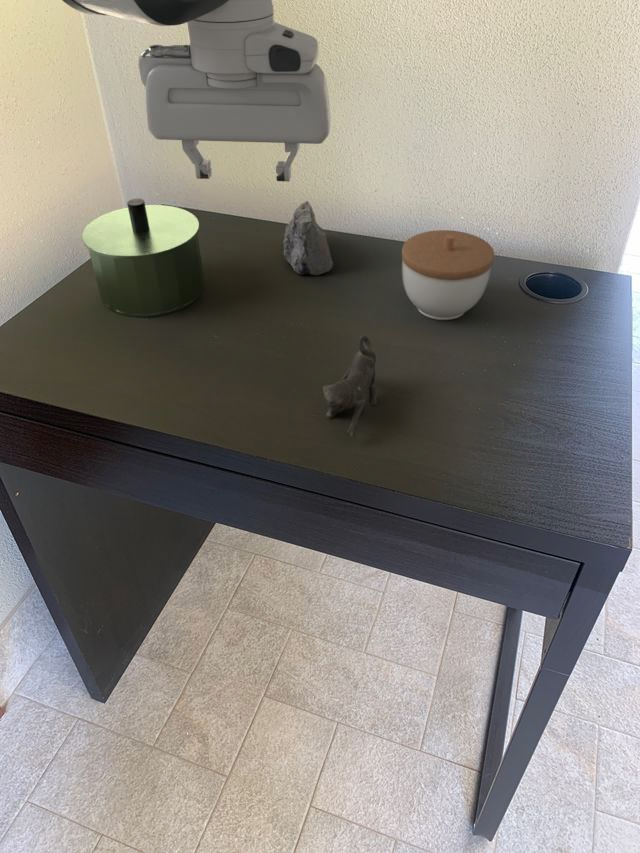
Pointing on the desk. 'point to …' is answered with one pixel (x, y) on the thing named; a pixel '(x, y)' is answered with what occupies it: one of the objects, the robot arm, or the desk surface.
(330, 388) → the dog figurine
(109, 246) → the tin lid
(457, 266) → the lidded bowl
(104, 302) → the waste tin
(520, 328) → the desk surface
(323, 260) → the mineral rock
